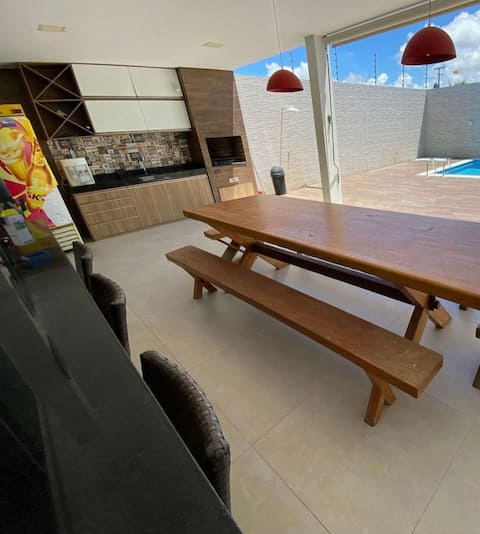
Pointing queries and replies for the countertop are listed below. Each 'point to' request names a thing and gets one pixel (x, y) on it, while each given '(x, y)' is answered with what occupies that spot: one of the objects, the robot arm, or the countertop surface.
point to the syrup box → (18, 229)
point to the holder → (37, 259)
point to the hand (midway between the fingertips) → (14, 222)
